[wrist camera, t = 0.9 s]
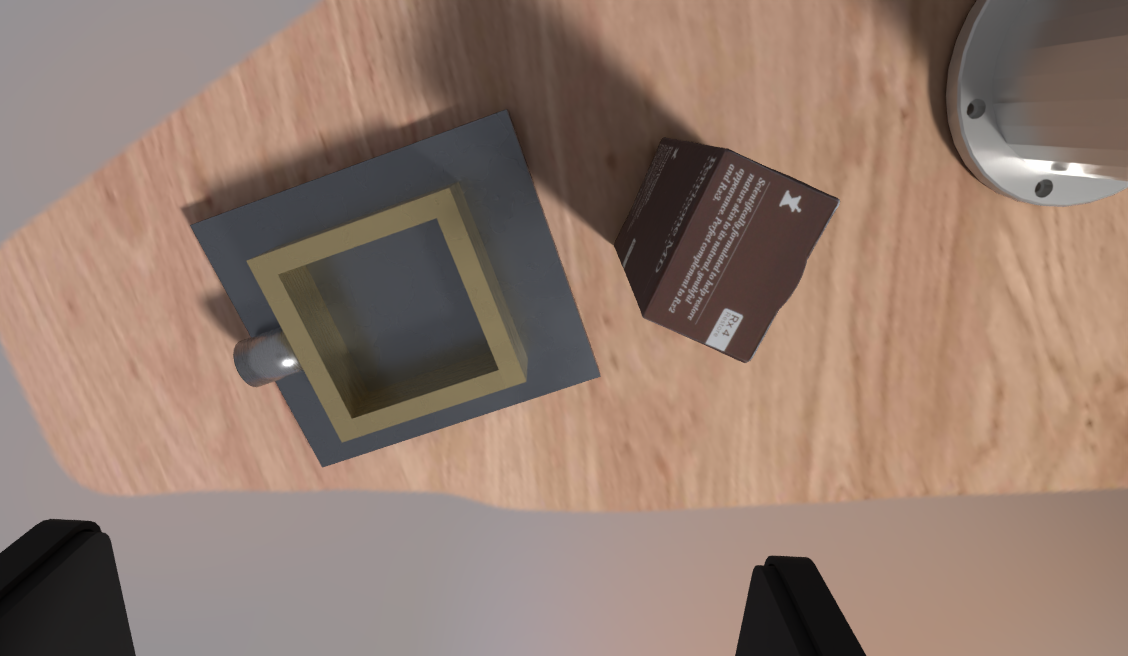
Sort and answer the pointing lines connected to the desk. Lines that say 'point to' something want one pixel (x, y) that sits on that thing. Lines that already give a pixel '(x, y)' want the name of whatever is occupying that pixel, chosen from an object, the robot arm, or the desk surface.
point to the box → (718, 244)
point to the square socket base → (402, 292)
